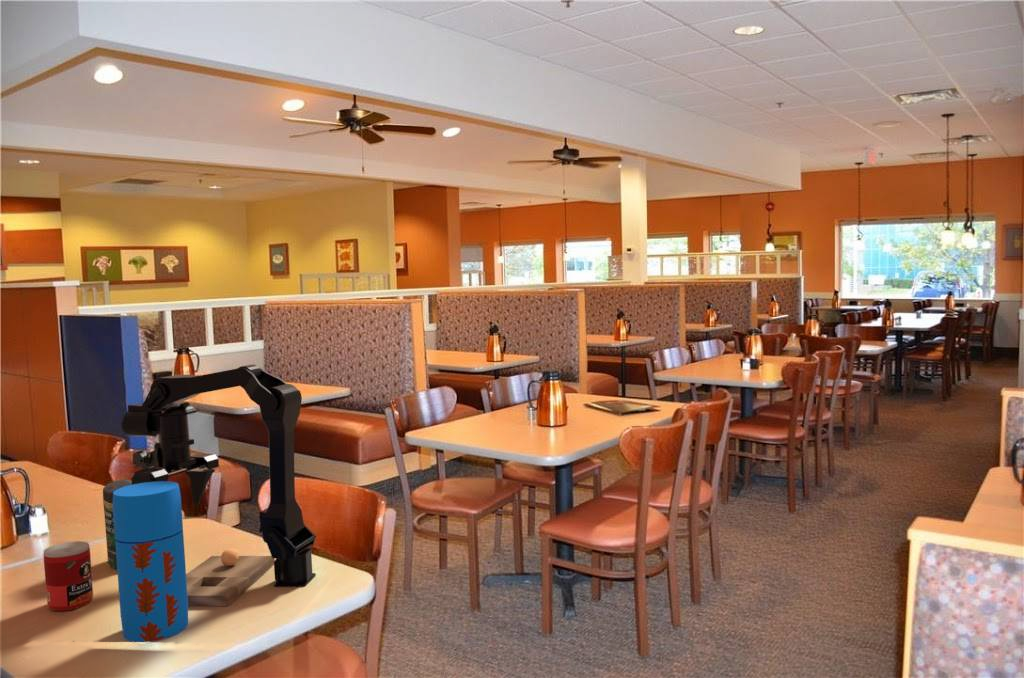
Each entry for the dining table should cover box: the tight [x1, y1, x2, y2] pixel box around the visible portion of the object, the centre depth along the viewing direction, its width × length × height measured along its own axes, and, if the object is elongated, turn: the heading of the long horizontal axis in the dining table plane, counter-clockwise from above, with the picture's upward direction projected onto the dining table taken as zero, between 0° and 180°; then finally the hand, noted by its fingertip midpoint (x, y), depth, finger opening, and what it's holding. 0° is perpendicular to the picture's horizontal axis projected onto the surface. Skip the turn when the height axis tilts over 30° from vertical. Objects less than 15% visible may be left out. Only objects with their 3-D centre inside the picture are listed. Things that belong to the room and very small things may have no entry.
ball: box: [220, 548, 240, 566], centre depth 167 cm, size 4×4×4 cm
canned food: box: [42, 540, 94, 612], centre depth 154 cm, size 8×8×11 cm
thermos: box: [113, 480, 189, 643], centre depth 140 cm, size 11×11×25 cm
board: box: [186, 555, 276, 607], centre depth 162 cm, size 14×22×2 cm, turn 174°
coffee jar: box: [102, 478, 132, 571], centre depth 175 cm, size 10×8×19 cm
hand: (180, 510), depth 168 cm, fingers open, 9 cm apart
